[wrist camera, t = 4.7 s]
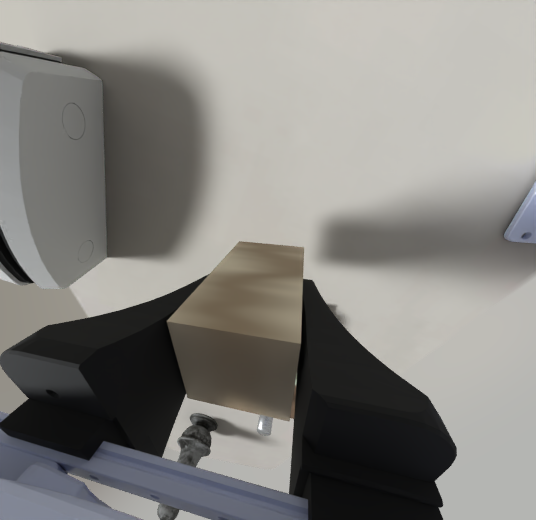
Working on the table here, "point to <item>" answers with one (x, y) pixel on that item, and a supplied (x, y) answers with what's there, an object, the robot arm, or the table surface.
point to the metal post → (264, 425)
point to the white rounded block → (50, 169)
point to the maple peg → (244, 331)
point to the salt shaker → (191, 452)
